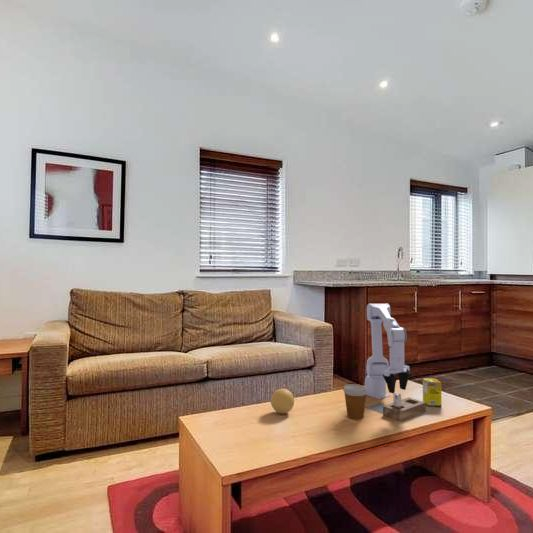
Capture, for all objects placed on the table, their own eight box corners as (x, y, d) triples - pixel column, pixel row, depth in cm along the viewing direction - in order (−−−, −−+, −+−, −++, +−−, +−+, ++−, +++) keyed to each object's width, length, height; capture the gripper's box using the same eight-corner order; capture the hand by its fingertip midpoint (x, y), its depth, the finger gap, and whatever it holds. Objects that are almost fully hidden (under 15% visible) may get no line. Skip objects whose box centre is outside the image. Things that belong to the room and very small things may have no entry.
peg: (392, 416, 153) (391, 394, 153) (396, 414, 154) (396, 392, 155) (398, 418, 150) (398, 396, 150) (402, 417, 152) (402, 394, 152)
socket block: (383, 415, 153) (383, 406, 153) (408, 406, 164) (408, 397, 164) (400, 422, 147) (400, 411, 147) (425, 411, 157) (425, 402, 157)
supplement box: (441, 407, 163) (441, 382, 163) (428, 407, 163) (427, 382, 163) (436, 402, 169) (435, 378, 169) (422, 402, 169) (422, 378, 169)
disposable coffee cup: (370, 421, 147) (370, 391, 148) (346, 421, 147) (346, 391, 148) (363, 412, 157) (363, 383, 157) (341, 412, 157) (341, 384, 157)
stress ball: (290, 420, 151) (303, 400, 157) (275, 404, 149) (288, 384, 154) (276, 416, 160) (289, 397, 165) (262, 401, 157) (275, 382, 162)
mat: (365, 408, 162) (365, 407, 162) (379, 403, 168) (379, 402, 168) (382, 414, 155) (382, 413, 155) (397, 409, 161) (397, 408, 161)
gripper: (394, 362, 145) (395, 397, 145) (416, 356, 154) (416, 390, 154) (379, 358, 151) (379, 392, 151) (401, 353, 160) (401, 385, 159)
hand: (397, 390), depth 153 cm, fingers open, 7 cm apart
